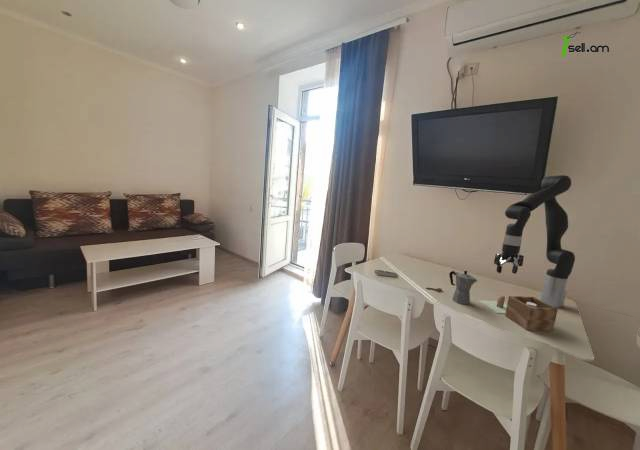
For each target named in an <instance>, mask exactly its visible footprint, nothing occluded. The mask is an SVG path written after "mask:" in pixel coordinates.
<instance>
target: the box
mask: <svg viewBox="0 0 640 450" xmlns="http://www.w3.org/2000/svg"><path fill="white" fill-rule="evenodd" d="M527 302H532V303H535V304H536V305H537V307H530V306H528V305H527V304H526V303H527ZM506 304H507V308H506V313H505V314H504V317H505V318H507V319H509V320H511V321H512V322H514V323H515V324H517V326H520V327H521V328H522V329H523V330H525V331H532V332H533V331H535V332H542V331H543V332H554V327H555V324H556V319H557V314H558V310H559V308H556V307H552V306H550V305H548V304H546V303H544V302H542V301H541V299H538V298H536V297H535V296H523V295H522V296H519V295H508V298H507V303H506Z"/></svg>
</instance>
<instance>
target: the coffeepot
mask: <svg viewBox="0 0 640 450" xmlns="http://www.w3.org/2000/svg"><path fill="white" fill-rule="evenodd" d="M448 275H449V280H450V285H452V286H456V288H455V291H454V293H453V296H452V301H453V302H455V303H457V304H460V305H464V306H465V305H466V306H467V305H470V303H471V295H470V294H471V292H470V291H471V288H472V286H473V285H474V284H475V283H476V282H478V280H477V278H475V277H474V276H472V275H470V274H468V271H467V270H464V271H463V273H461V272H460V273H459V272H457V271H455V270H454V271H453V270H452V271H450V272H449V274H448ZM453 275H454V276H455V283H454V279H453V278H454V277H453Z"/></svg>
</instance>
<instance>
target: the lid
mask: <svg viewBox="0 0 640 450" xmlns="http://www.w3.org/2000/svg"><path fill="white" fill-rule="evenodd" d="M505 299H506V297H505V296H504V295H498V297H497V300H479V303H481V304H483V305H484V306H485V307H487V308H488V309H490V310H491V311H493V312H494V313H496V314H499V315H500V314H503V315H505V313H506V308H507V303H506V302H505Z"/></svg>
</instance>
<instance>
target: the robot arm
mask: <svg viewBox="0 0 640 450" xmlns="http://www.w3.org/2000/svg"><path fill="white" fill-rule="evenodd" d="M540 186H541V190H539V191H536V192H533V193H531V194H530V195H528V196H527V197H525V198H524V199H522V200H521V201H518V202H515V203H512V204H510V205H509V206H508V207H507V208H506V209H505V211H504V214H505V217H506V218H507V219H510V220H516V222H515V223H508V224H507V225H506V229H505V233H504V237H503V241H502V246H501V247H502V248H501V251H502V253H498V252H496V253H495V256H494V260H493V264H494V265H496V273H499V274H501V273H502V271H503V266H504V265H505V264H507V263H511V264H512V268H511V273H512V274H517V273H518V271H519V267H522V266H523V264H524V257H525V256H524V255H523V254H520V251H521V246H522V238H523V231H524V228H525V227H526V224H527V223H528V221H529V219H530V217H531V215H532V214H531V213H532V211H534V210H536V209H537V208H538V207H540V206H542V205H543V204H544V213H545V215H544V216H545V226H546V251H545V252H546V253H545V254H546V259H547V261H548V262H549V263H552V264H555V268H548V269H547V270H546V274H545V278H544V283H543V288H542V292H541V296H540V297H541V298H540V301H542V302H544V303H546V304H548V305H550V306H552V307H554V308H556V309H559V308H562V307H564V303H565V300H566V295H567V291H566V288H567V283H568V279H569V277H570V275H571V273H572V271H573V268H574V264H575V260H576V256H575V253H574V252H573V251H570V250H567V249H564V248H562V243H561V242H562V237H563V236H564V235H565V233H566V232H567V230H568V228H569V216H568V214H567V212H566V210H565V209H564V208H563V207H562V206H561V204H560V203H559V202H558V201H557V198H556V197H557V196H559V195H561V194H563V193H566V192H567V191H568V190H570V187H572V179H571V177H570V176H569V175H565V174H564V175H563V174H562V175H561V174H560V175H548V176H545V177H543V179H541V183H540Z"/></svg>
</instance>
